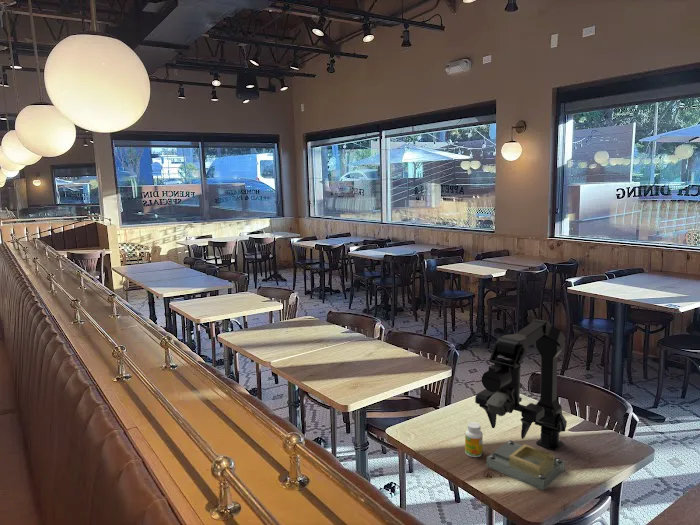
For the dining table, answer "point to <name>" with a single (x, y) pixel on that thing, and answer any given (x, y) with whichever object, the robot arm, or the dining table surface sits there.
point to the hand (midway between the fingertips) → (507, 432)
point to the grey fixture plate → (526, 464)
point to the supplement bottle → (473, 440)
